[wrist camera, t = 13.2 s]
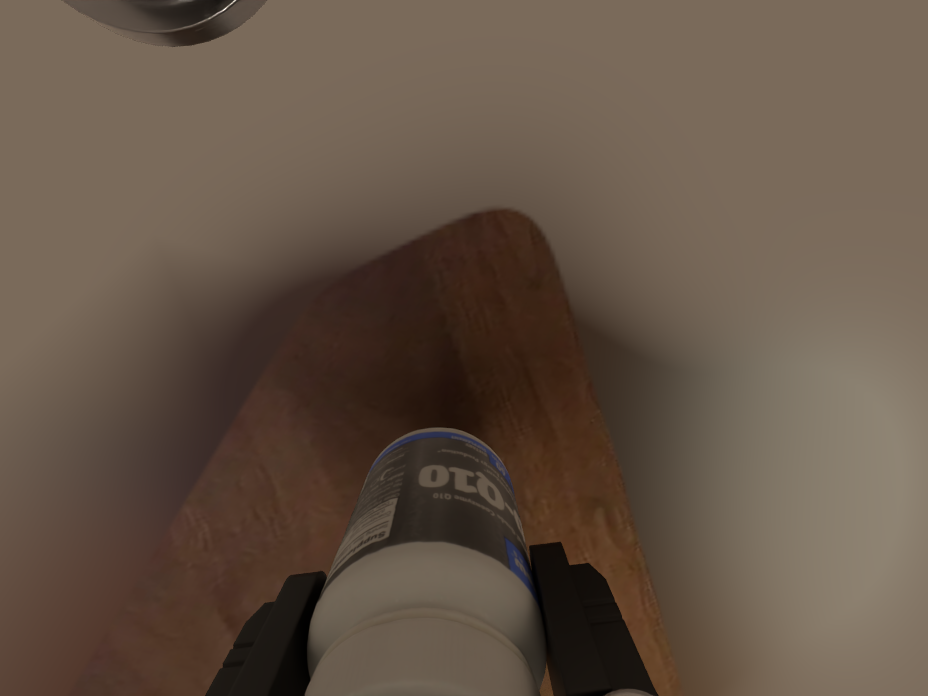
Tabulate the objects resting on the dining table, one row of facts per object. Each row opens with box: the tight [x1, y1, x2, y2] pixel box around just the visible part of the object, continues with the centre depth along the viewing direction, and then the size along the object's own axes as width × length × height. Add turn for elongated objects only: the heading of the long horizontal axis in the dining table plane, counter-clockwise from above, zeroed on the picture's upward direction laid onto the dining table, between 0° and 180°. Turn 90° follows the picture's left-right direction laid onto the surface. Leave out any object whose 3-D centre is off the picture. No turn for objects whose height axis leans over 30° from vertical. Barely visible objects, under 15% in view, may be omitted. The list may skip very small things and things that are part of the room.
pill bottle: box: [305, 428, 547, 696], centre depth 11 cm, size 5×5×8 cm
